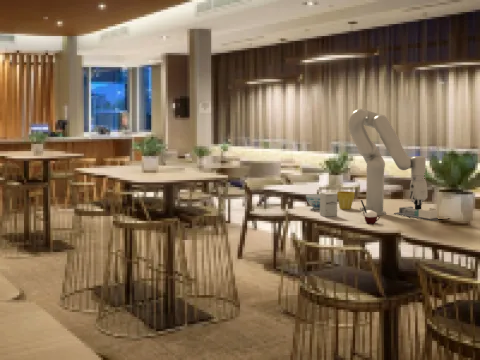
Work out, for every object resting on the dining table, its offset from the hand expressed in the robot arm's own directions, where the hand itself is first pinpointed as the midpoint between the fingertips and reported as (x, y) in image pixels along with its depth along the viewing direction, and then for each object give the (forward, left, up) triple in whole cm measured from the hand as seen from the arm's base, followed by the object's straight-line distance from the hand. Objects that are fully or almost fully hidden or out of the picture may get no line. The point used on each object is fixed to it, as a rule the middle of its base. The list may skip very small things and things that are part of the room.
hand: (418, 211), depth 334 cm
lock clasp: (-3, -11, -1) cm, 11 cm away
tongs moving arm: (-3, 0, -2) cm, 3 cm away
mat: (-1, -3, -2) cm, 4 cm away
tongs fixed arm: (0, +2, -2) cm, 2 cm away
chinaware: (-31, +49, -2) cm, 57 cm away
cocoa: (-41, -4, -2) cm, 41 cm away
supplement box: (-43, +26, -2) cm, 50 cm away
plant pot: (-17, +41, -2) cm, 44 cm away
